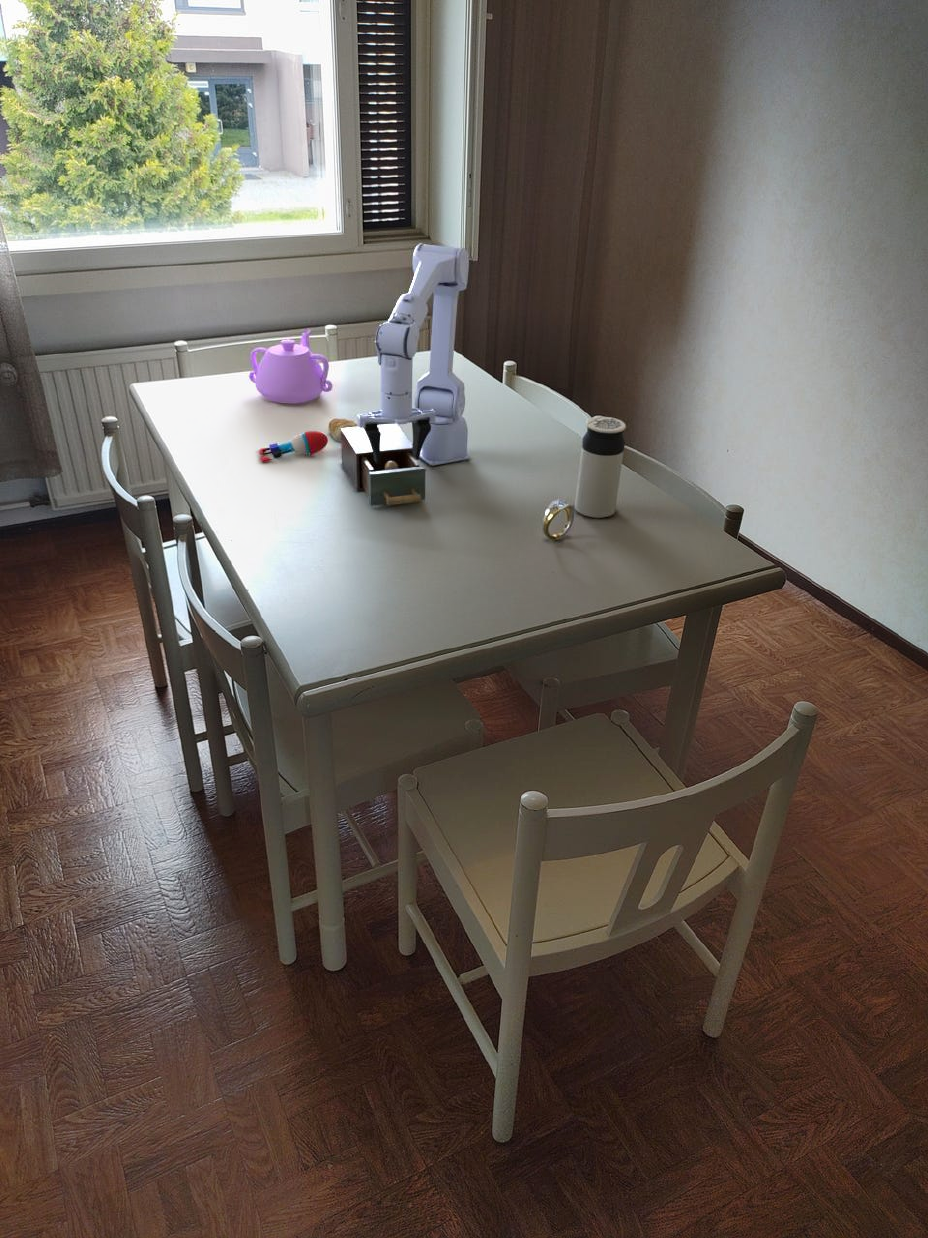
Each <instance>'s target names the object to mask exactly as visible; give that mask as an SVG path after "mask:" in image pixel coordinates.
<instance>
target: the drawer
mask: <svg viewBox="0 0 928 1238" xmlns="http://www.w3.org/2000/svg"><path fill="white" fill-rule="evenodd" d="M389 461H394V462H396V464H397V465H398V469H394V470H385V464H386V463H387V462H389ZM383 470H384V471H383ZM359 471H360V483H361V485H362V486H363V488H364V490H365V491H364V492H365V493H366V495H367V496H368V503H369V505H370V507H373V506H382V505H387V506H393V505H401V504H408V503H418V502H421V501H424V500H425V499H426V468H425V466H420V464H419V462H418V460H415V458H414V457H413V456H412V454H411V453H410V452H409V451H403V452H393V453H383V454H380V463H378V464H377V463H376V462H375V460H374V456H373V455H362V456H359Z"/></svg>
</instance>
